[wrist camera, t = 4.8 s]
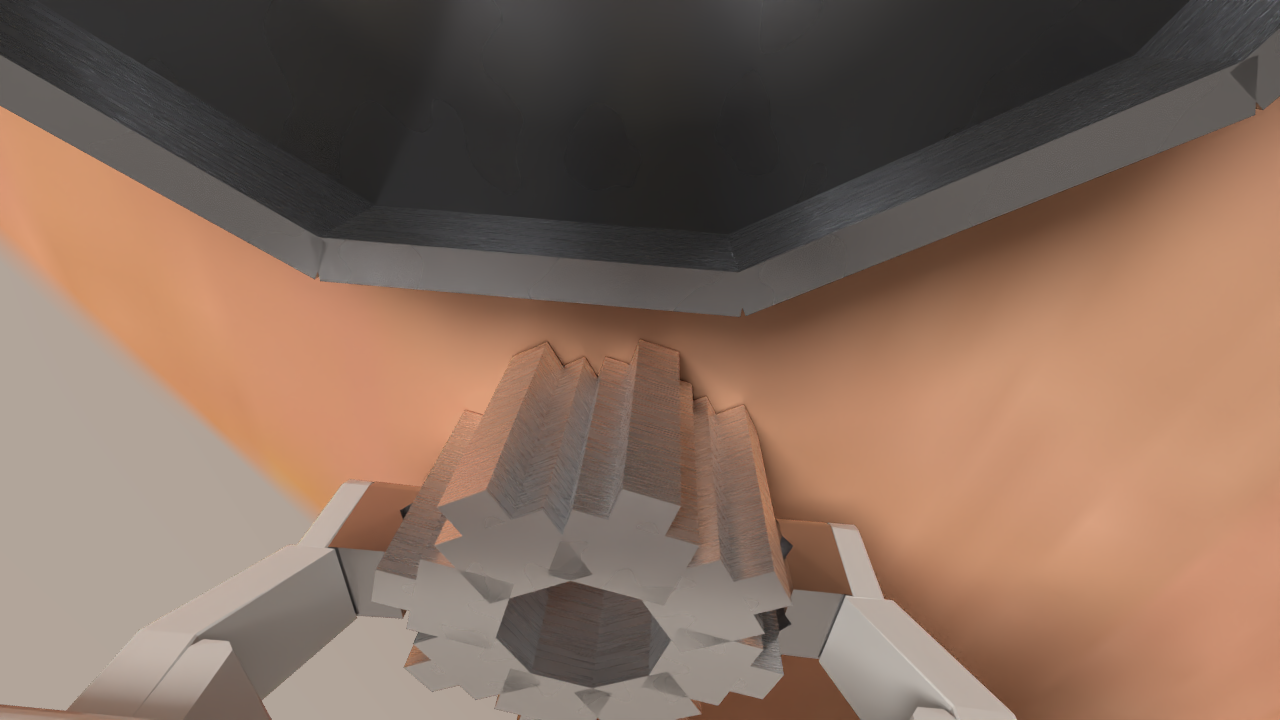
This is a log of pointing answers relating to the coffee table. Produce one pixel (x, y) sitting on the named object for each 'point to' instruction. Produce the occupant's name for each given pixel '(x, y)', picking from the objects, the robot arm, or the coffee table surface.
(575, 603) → the planet gear
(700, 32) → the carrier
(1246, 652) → the coffee table surface
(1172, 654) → the coffee table surface
